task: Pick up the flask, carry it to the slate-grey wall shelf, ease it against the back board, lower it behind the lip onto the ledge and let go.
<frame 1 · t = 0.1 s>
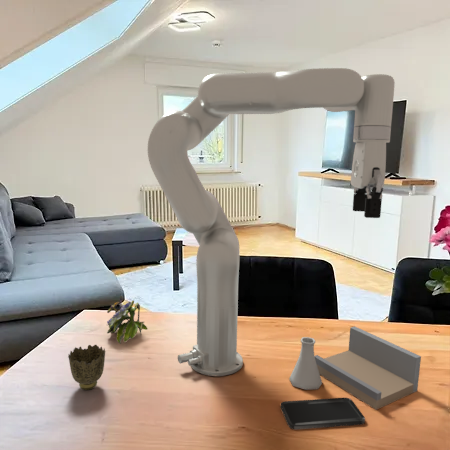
hand: (365, 214, 94), 37 cm above the table, tool pointing down, fingers open, 9 cm apart
flask: (305, 382, 94), on the table
cup: (88, 387, 91), on the table
phone: (321, 416, 83), on the table
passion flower: (127, 335, 116), on the table
wall shelf: (360, 380, 95), on the table
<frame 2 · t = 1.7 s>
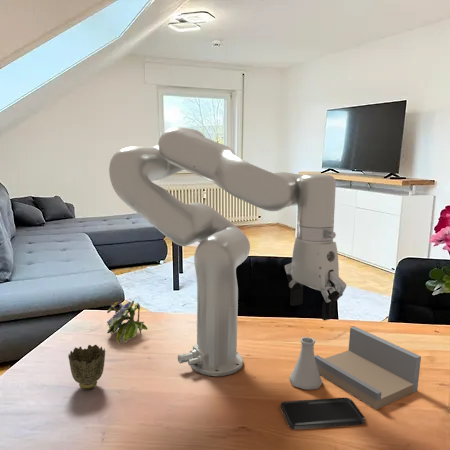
hand: (311, 311, 91), 17 cm above the table, tool pointing down, fingers open, 9 cm apart
nothing on the table moved.
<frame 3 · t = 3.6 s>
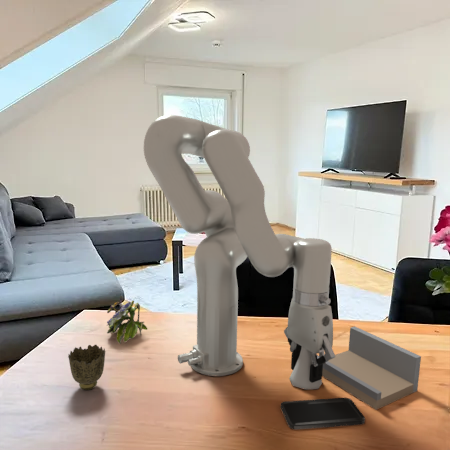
hand: (306, 373, 94), 2 cm above the table, tool pointing down, fingers closed on flask, 5 cm apart
flask: (305, 382, 94), on the table, touching gripper
everything else where it was.
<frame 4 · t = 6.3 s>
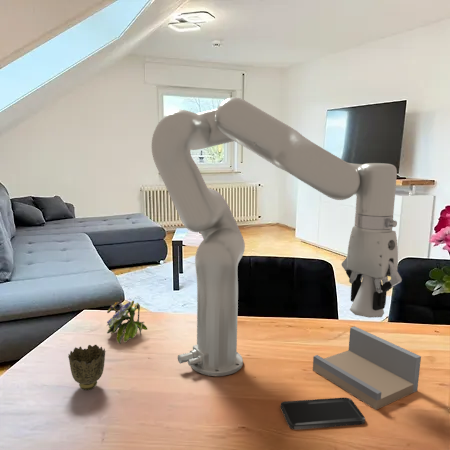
hand: (367, 303, 92), 18 cm above the table, tool pointing down, fingers closed on flask, 5 cm apart
flask: (366, 313, 92), point 16 cm above the table, touching gripper
everything else where it was.
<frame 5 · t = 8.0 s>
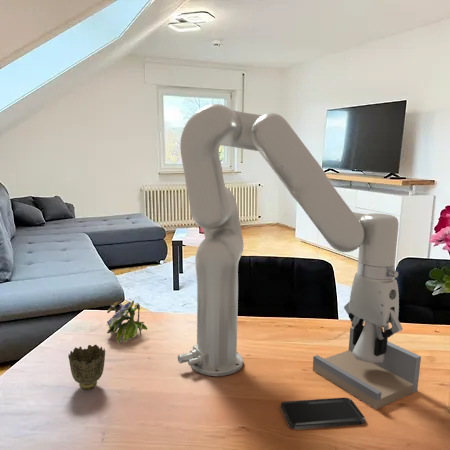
hand: (368, 348, 95), 7 cm above the table, tool pointing down, fingers closed on flask, 5 cm apart
flask: (368, 357, 95), point 5 cm above the table, touching gripper
everything else where it was.
when the fingers open (5 cm above the table, at t = 9.1 s): flask stays where it is, resting on wall shelf.
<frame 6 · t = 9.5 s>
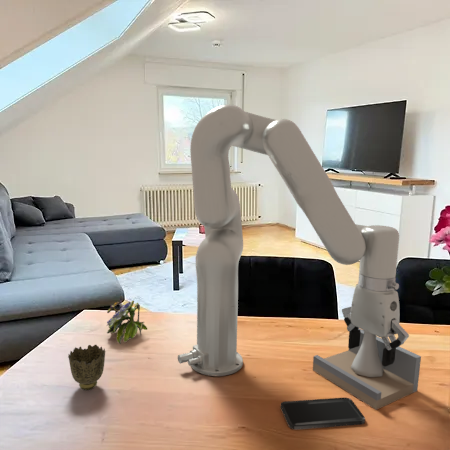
hand: (370, 355, 96), 6 cm above the table, tool pointing down, fingers open, 9 cm apart
flask: (366, 370, 96), point 2 cm above the table, touching wall shelf
everything else where it was.
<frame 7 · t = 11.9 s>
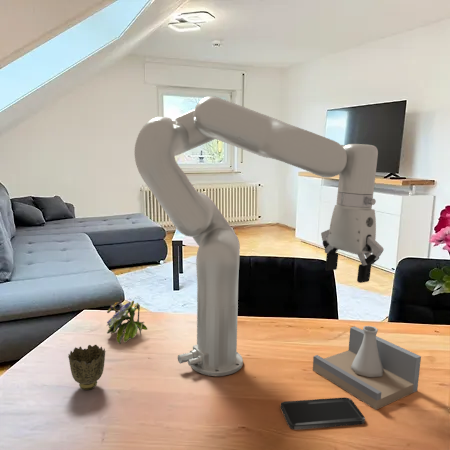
hand: (346, 275, 96), 23 cm above the table, tool pointing down, fingers open, 9 cm apart
nothing on the table moved.
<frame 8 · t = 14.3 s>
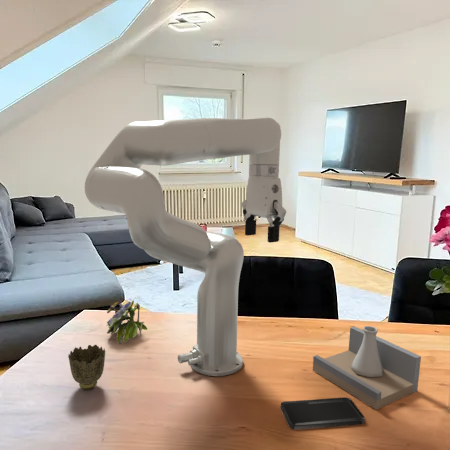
hand: (261, 238, 109), 28 cm above the table, tool pointing down, fingers open, 9 cm apart
nothing on the table moved.
at the end: flask inside the target area on the wall shelf (1.9 cm from its centre), point 1.8 cm above the wall shelf's base; flask tilted 0°; the gripper is holding nothing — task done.
